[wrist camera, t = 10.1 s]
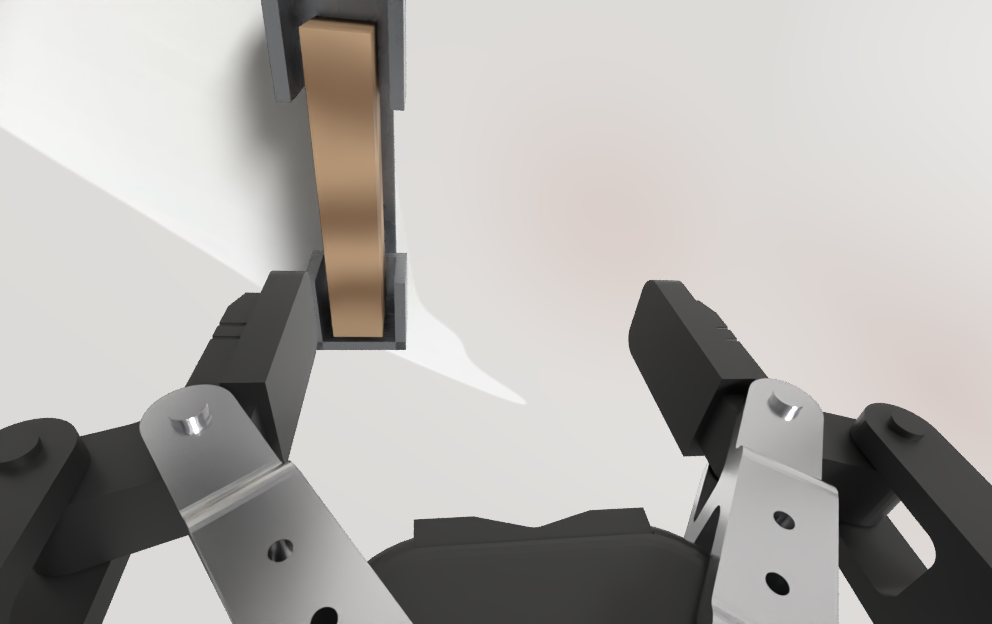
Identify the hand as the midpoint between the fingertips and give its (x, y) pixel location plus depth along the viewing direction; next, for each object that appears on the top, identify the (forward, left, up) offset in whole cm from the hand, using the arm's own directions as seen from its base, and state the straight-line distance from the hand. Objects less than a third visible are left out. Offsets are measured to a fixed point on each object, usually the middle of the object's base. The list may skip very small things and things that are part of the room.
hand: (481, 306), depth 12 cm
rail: (+7, -6, -25) cm, 27 cm away
